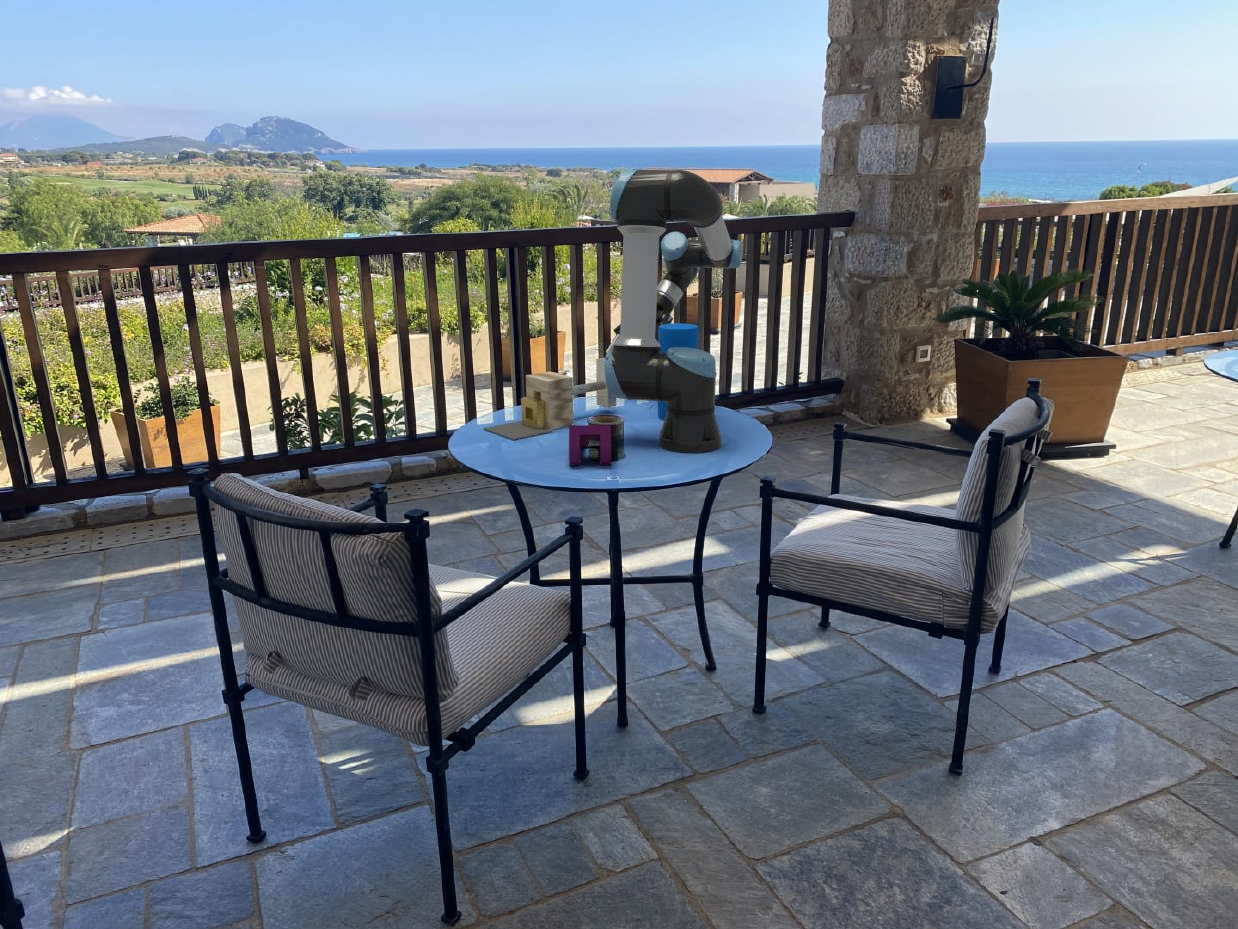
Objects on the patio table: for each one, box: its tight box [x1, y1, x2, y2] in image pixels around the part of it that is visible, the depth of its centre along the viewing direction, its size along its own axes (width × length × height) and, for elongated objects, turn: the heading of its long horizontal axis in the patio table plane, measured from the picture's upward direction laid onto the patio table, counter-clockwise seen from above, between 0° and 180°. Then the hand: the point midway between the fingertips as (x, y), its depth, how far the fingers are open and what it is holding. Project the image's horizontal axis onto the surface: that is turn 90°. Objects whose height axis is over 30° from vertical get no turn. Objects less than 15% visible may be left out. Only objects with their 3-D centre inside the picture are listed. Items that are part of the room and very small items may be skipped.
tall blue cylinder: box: [657, 323, 700, 421], centre depth 238 cm, size 11×11×25 cm
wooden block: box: [525, 371, 575, 431], centre depth 233 cm, size 8×10×13 cm
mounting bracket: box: [568, 424, 612, 466], centre depth 206 cm, size 10×8×18 cm
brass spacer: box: [520, 396, 545, 430], centre depth 230 cm, size 2×7×7 cm, turn 40°
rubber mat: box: [483, 419, 553, 442], centre depth 229 cm, size 12×14×1 cm
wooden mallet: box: [573, 357, 617, 409], centre depth 238 cm, size 22×5×13 cm, turn 130°
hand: (624, 358), depth 247 cm, fingers open, 13 cm apart
